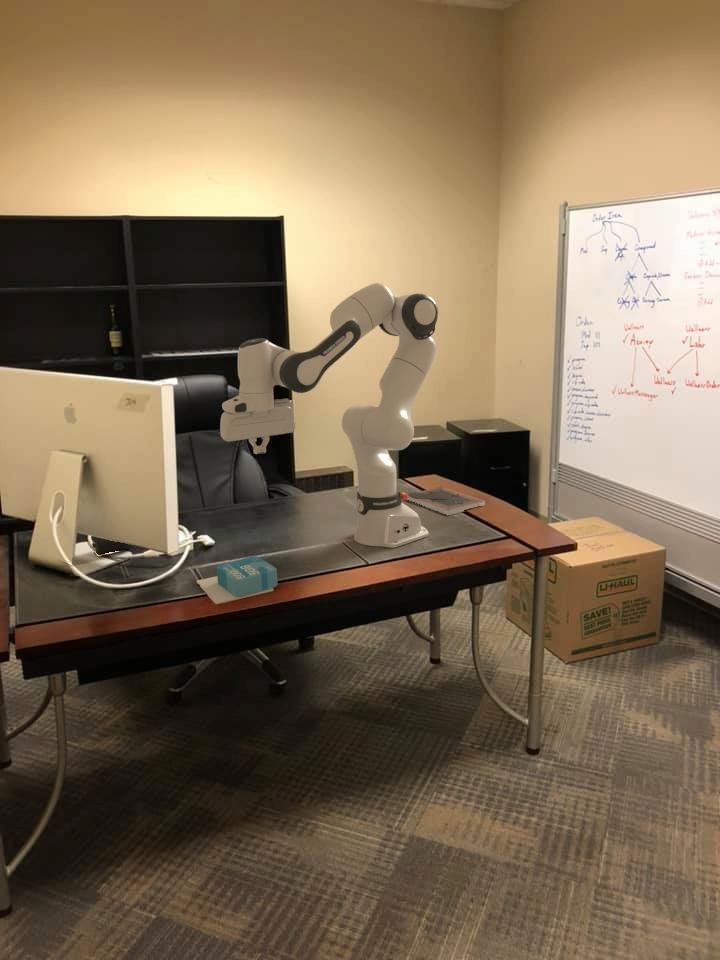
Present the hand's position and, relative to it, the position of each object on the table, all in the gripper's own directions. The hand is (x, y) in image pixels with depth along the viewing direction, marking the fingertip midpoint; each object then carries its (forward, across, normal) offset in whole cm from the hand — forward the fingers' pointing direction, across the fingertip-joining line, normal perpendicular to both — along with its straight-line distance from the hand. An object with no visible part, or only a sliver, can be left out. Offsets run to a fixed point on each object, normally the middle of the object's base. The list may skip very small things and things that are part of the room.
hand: (259, 453), depth 198 cm
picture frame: (+31, -71, -12) cm, 78 cm away
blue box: (+27, +6, +15) cm, 31 cm away
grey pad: (+30, +15, +14) cm, 36 cm away
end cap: (+30, +35, -27) cm, 54 cm away
